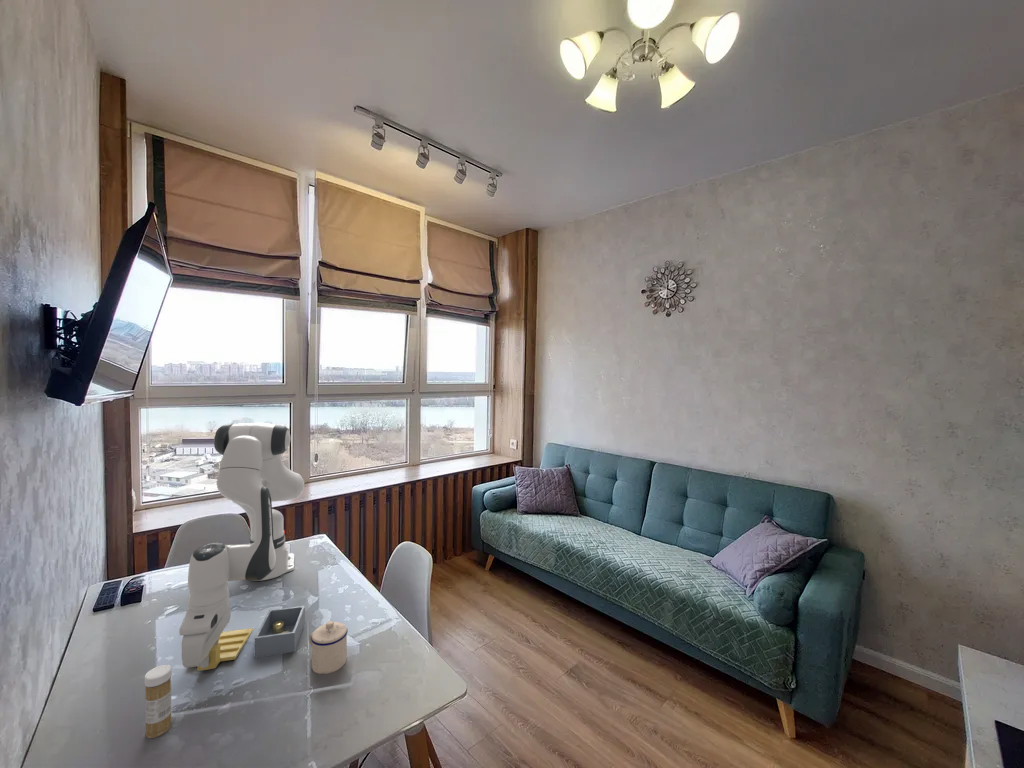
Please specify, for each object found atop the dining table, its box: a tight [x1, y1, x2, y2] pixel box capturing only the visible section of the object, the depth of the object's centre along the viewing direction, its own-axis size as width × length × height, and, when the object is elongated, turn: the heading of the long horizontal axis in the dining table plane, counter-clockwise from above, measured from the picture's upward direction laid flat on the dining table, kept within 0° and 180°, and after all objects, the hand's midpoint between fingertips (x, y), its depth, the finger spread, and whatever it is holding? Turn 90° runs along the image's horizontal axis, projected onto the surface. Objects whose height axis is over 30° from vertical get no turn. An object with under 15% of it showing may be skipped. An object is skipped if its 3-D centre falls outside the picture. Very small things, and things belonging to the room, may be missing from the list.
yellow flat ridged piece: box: [196, 627, 254, 672], centre depth 117 cm, size 18×11×4 cm, turn 16°
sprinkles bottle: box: [144, 664, 173, 739], centre depth 92 cm, size 5×5×13 cm
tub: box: [253, 605, 306, 658], centre depth 122 cm, size 14×10×6 cm
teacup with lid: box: [309, 620, 348, 675], centre depth 114 cm, size 12×9×12 cm
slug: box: [273, 621, 284, 635], centre depth 125 cm, size 3×3×3 cm
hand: (209, 659), depth 110 cm, fingers closed on yellow flat ridged piece, 3 cm apart
